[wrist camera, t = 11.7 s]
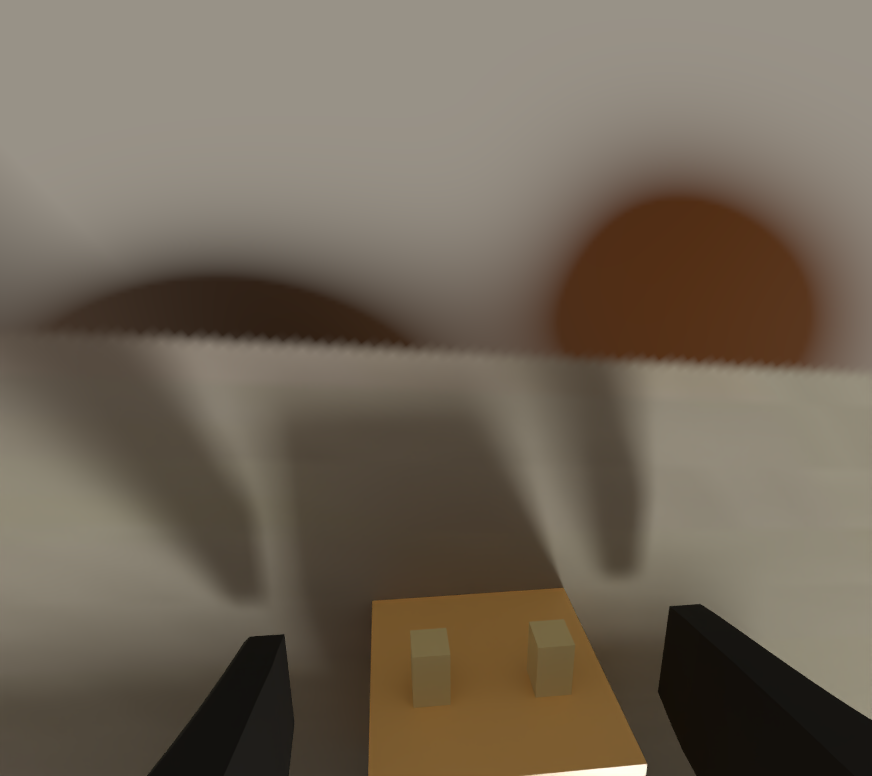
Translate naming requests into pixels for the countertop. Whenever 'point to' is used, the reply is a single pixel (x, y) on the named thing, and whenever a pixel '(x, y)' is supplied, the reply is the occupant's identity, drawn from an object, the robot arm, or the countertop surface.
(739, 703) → the robot arm
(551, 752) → the bar with block ends
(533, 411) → the countertop surface
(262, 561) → the countertop surface
